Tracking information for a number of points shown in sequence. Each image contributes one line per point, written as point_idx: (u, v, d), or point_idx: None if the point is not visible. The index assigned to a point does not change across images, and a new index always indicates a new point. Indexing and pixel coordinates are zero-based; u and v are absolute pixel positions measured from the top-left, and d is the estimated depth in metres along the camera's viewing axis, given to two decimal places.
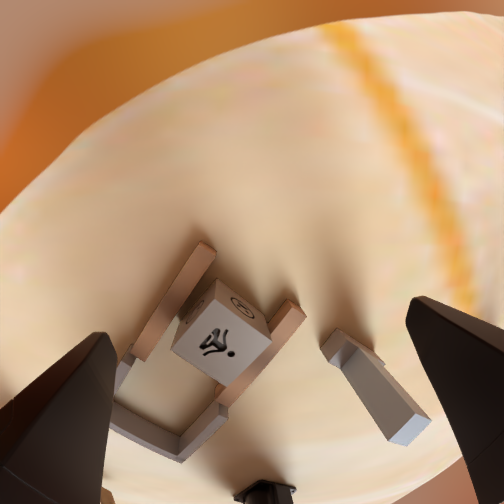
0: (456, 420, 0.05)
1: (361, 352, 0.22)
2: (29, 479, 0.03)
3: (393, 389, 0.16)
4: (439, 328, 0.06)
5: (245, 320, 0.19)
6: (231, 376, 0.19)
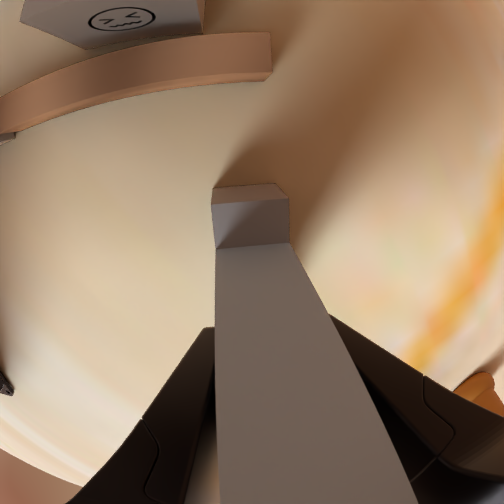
0: None
1: (291, 251, 0.09)
2: None
3: (365, 398, 0.04)
4: None
5: None
6: (48, 0, 0.04)
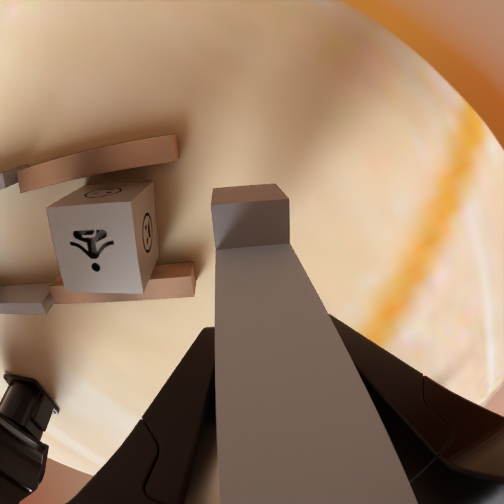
0: None
1: (291, 252, 0.09)
2: None
3: (365, 399, 0.04)
4: None
5: (138, 250, 0.14)
6: (77, 286, 0.14)
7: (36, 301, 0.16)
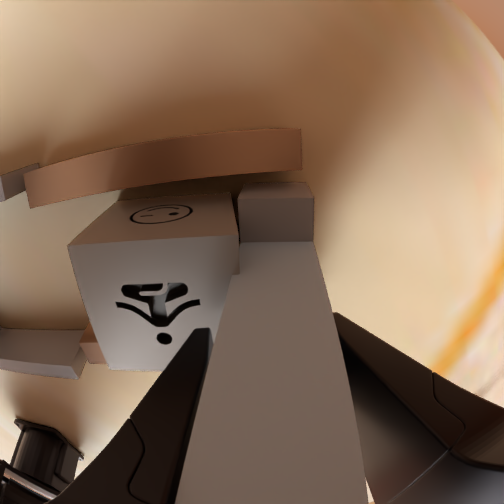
0: (367, 458, 0.05)
1: (312, 250, 0.09)
2: None
3: (347, 401, 0.04)
4: None
5: None
6: (130, 364, 0.09)
7: (62, 362, 0.12)
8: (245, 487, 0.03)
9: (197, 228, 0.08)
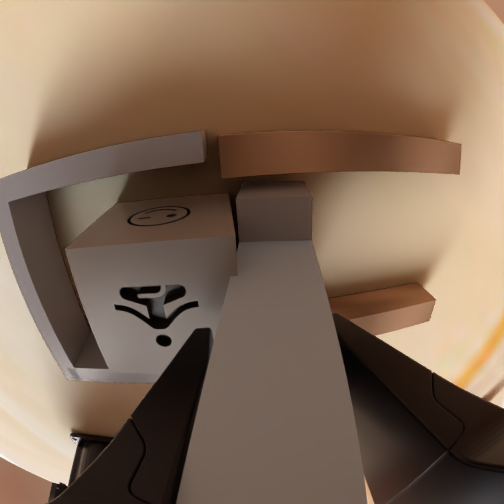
0: (366, 458, 0.05)
1: (310, 249, 0.09)
2: None
3: (345, 401, 0.04)
4: None
5: None
6: (131, 366, 0.09)
7: None
8: (245, 487, 0.03)
9: (194, 230, 0.08)
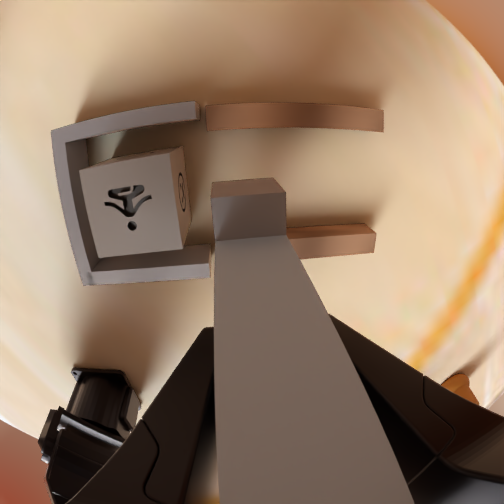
0: None
1: (287, 243, 0.10)
2: None
3: (355, 380, 0.04)
4: None
5: (176, 203, 0.14)
6: (112, 250, 0.14)
7: (197, 262, 0.18)
8: (284, 476, 0.03)
9: (150, 155, 0.13)
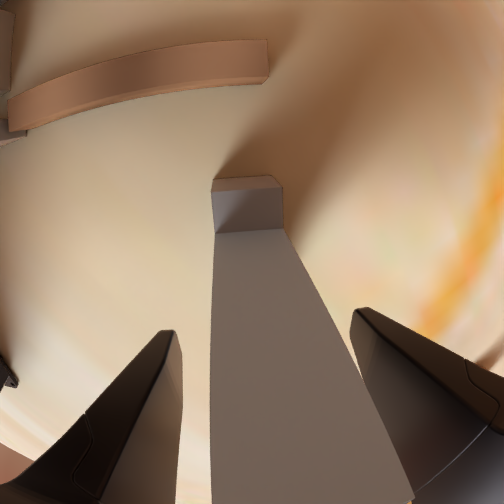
0: (399, 446, 0.05)
1: (284, 236, 0.10)
2: None
3: (344, 354, 0.05)
4: (377, 345, 0.06)
5: None
6: None
7: None
8: (274, 440, 0.03)
9: None
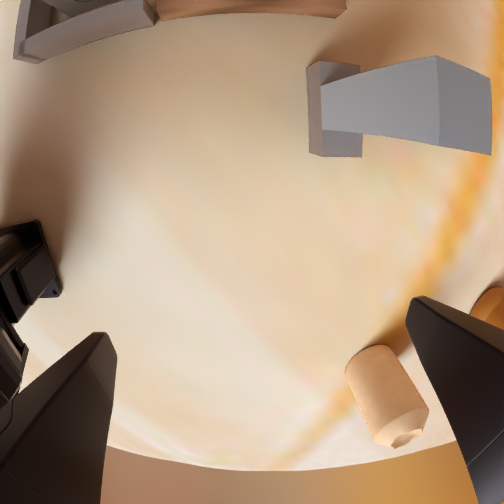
0: (457, 419, 0.05)
1: None
2: (29, 478, 0.03)
3: None
4: (439, 328, 0.06)
5: None
6: None
7: None
8: None
9: None
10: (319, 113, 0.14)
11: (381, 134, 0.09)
